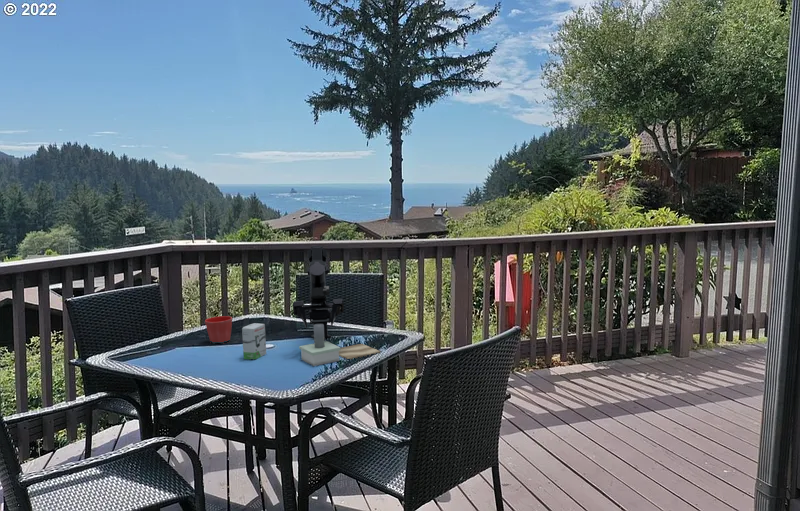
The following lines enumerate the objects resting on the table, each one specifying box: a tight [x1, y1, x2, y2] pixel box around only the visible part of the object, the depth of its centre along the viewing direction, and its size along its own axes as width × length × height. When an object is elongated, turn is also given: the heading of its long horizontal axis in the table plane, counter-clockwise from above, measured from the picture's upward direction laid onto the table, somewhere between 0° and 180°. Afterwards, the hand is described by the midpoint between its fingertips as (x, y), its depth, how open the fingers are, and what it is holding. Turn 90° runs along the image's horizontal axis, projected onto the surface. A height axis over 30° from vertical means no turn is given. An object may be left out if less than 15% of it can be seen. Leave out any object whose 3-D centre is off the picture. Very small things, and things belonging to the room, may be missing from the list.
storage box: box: [300, 350, 340, 367], centre depth 212 cm, size 10×10×4 cm
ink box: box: [241, 322, 267, 361], centre depth 219 cm, size 9×5×12 cm, turn 162°
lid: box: [298, 324, 342, 356], centre depth 211 cm, size 11×11×9 cm
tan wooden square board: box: [339, 343, 382, 360], centre depth 221 cm, size 14×14×1 cm
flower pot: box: [204, 315, 233, 342], centre depth 241 cm, size 11×11×10 cm
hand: (318, 326), depth 215 cm, fingers open, 9 cm apart
